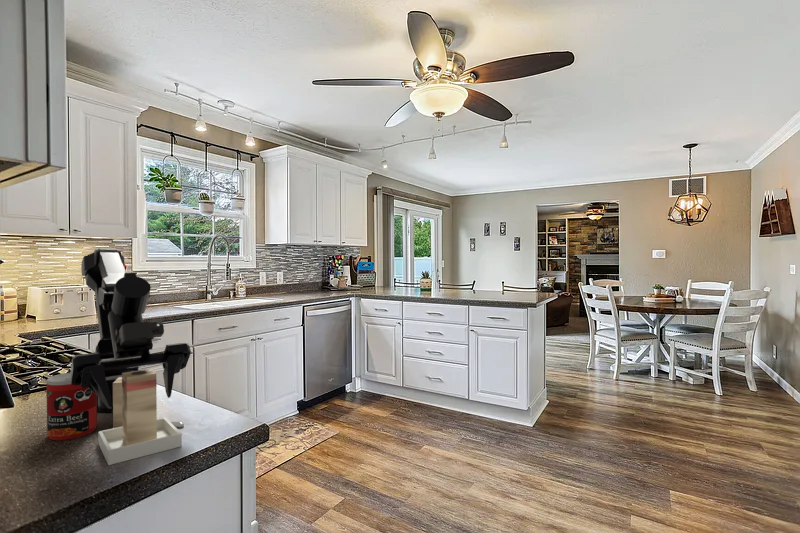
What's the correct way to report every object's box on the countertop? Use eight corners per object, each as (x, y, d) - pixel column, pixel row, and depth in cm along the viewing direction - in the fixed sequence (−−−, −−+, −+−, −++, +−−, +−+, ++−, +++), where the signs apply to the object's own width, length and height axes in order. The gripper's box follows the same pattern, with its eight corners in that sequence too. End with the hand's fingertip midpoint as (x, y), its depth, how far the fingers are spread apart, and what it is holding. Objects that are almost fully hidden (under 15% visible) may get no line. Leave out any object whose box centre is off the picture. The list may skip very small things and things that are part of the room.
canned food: (38, 443, 80) (37, 383, 80) (59, 427, 87) (59, 372, 87) (86, 438, 82) (86, 380, 82) (103, 423, 89) (103, 369, 89)
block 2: (122, 442, 79) (122, 372, 79) (150, 435, 82) (150, 368, 82) (127, 450, 75) (127, 377, 75) (157, 442, 78) (156, 373, 78)
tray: (98, 444, 79) (98, 431, 79) (165, 428, 86) (165, 417, 86) (108, 465, 71) (108, 451, 71) (181, 446, 78) (181, 433, 78)
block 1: (118, 420, 91) (118, 377, 91) (143, 417, 93) (143, 375, 93) (113, 428, 87) (112, 382, 87) (139, 425, 88) (138, 380, 88)
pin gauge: (141, 427, 88) (141, 421, 88) (145, 425, 89) (145, 419, 89) (181, 429, 87) (181, 423, 87) (185, 427, 88) (185, 421, 88)
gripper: (71, 309, 75) (79, 386, 67) (187, 302, 88) (206, 367, 79) (67, 348, 81) (74, 423, 73) (176, 336, 94) (193, 400, 85)
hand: (141, 401), depth 78 cm, fingers open, 9 cm apart
